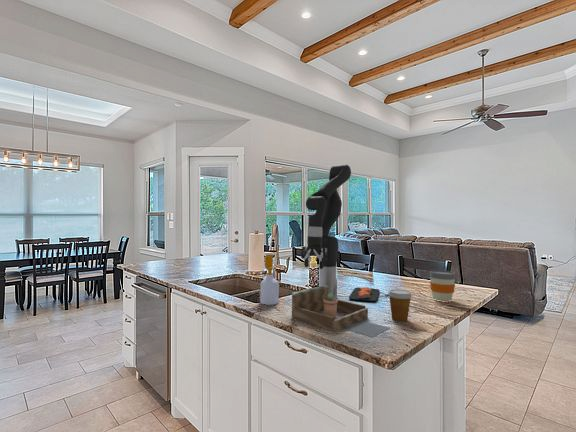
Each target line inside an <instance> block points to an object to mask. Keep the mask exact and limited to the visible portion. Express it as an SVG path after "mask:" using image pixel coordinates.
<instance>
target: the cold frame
mask: <svg viewBox="0 0 576 432" xmlns="http://www.w3.org/2000/svg"><path fill="white" fill-rule="evenodd" d="M328 287H329V285H323V286H319V285H318V286H315V287H312V288H308V289H302V290H299V291H293V292H291V319H292V320H295V319H296V320H295V321H300V322H302V321H303V322H302V323H305V322H306V324H308V323H309V325H311V324H312V326H315V325H316V327H318V326H319V328H321V327H322V328H321V329H325V330H327V331H328V330H329V331H331V332H334V333H336V332H338V331H340V330H342V329H345V328H348V327H350V326H352V325H354V324H357V323H359V322H361V321H365V320H366V319H368V316H369V314H368V313H369V312H368V311H369V308H367V307H366V305H364V304H359V303H354V302H352V301H346V300H342V299H338V303H337V312H339V313H344V314H346V315H343V316H342V317H341V316H340V317H338V318H337V319H335V317H332V316H328V315H325V314H324V313H320V312H321V311H322V310H323V311H324V303H323V299H324V298H327V295H328Z"/></svg>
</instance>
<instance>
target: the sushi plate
mask: <svg viewBox="0 0 576 432" xmlns="http://www.w3.org/2000/svg"><path fill="white" fill-rule="evenodd" d="M380 294H382V295H381V296H379V295H380ZM383 297H389V294H387V293H385V292H381V291H380V289H379V288H370V287H367V286H364V287H355V288H353V290H352V291H351V293H350V295H349V297H348V298H349V299H350V300H354V301H359V302H361V301H362V302H376V301H378V299H379V298H383Z"/></svg>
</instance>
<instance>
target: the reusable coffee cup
mask: <svg viewBox="0 0 576 432" xmlns="http://www.w3.org/2000/svg"><path fill="white" fill-rule="evenodd" d="M429 278H430V279H429V280H430V281H429V283H430V284H429V285H430V290H431V294H432V300H433V299H436V300H441V301H449V300H453V295H454V293H455V286H456V283H455V280H456V273H455V272H453V271H450V270H449V271H448V270H437V269H435V270H430V271H429Z"/></svg>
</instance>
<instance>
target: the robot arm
mask: <svg viewBox="0 0 576 432" xmlns="http://www.w3.org/2000/svg"><path fill="white" fill-rule="evenodd" d="M351 176H352V169H351V167H350V165H348V164H335V165H332V166H331V167H330V170H329V176H328V180H327V181H326V182H324V183H323V184H322V185H321V186H320V188H319V189H318V190H317V191H315V192H314V193H312V194H311V195H309V196H308V197H307V199H306V201H305V207H306V209H307V210H309V211H315V213H314V214H310V215H309V216H308V222H307V223H308V228H307V237H306V238H307V239H306V240H307V242H306V244H307V245H306V246H302V247H301V256H300V258H301V259H303V261H304V262H303V263H304V267H305V268H309V262H310V258H311V257H312V256H314V257H316V258H317V259H318V260H319V262H318V271H319V272H318V273H319V276H318V287H319V286H323V285H329V287H328V294H330V293H331V294H333V296H334V298H336V299H337V297H338V279H337V263H338V259H339V257H338V256H339V241H338V240H339V239H338V238H337V237H336V236H332V235H330V236H329V234H330V230H331V228H332V227H333V225H334V224H335V223H336V222H337V220H338V219H339V217H340V216H341V214H342V213H341V211H342V206H343V205H342V204H343V203H342V202H343V201H342V199H341V196H340V194H339V192H338V189H339V188H340V187H341V186H342V185H344V184H345V183H346V182H347V181H349V179H350V178H351Z"/></svg>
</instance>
